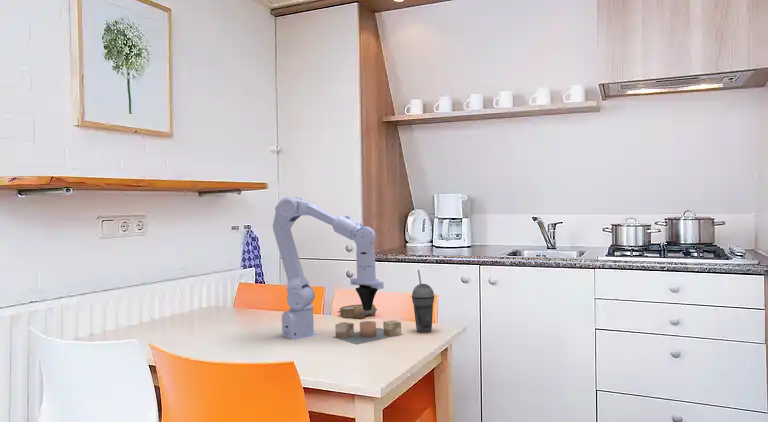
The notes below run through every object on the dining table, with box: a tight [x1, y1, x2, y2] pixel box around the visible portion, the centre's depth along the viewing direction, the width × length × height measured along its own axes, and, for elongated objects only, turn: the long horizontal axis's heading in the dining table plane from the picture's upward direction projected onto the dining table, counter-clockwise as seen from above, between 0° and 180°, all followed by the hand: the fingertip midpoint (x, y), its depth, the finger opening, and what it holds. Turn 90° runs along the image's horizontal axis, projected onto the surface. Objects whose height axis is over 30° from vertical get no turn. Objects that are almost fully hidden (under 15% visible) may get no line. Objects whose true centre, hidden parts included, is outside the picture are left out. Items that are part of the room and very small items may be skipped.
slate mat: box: [332, 327, 404, 345], centre depth 183 cm, size 18×13×1 cm
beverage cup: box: [411, 269, 435, 334], centre depth 186 cm, size 7×7×20 cm
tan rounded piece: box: [359, 320, 377, 338], centre depth 183 cm, size 5×5×4 cm
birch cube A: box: [334, 321, 355, 339], centre depth 182 cm, size 4×4×4 cm
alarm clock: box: [337, 303, 378, 320], centre depth 218 cm, size 11×5×15 cm
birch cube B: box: [383, 319, 402, 338], centre depth 183 cm, size 4×4×4 cm
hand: (367, 310), depth 183 cm, fingers closed
